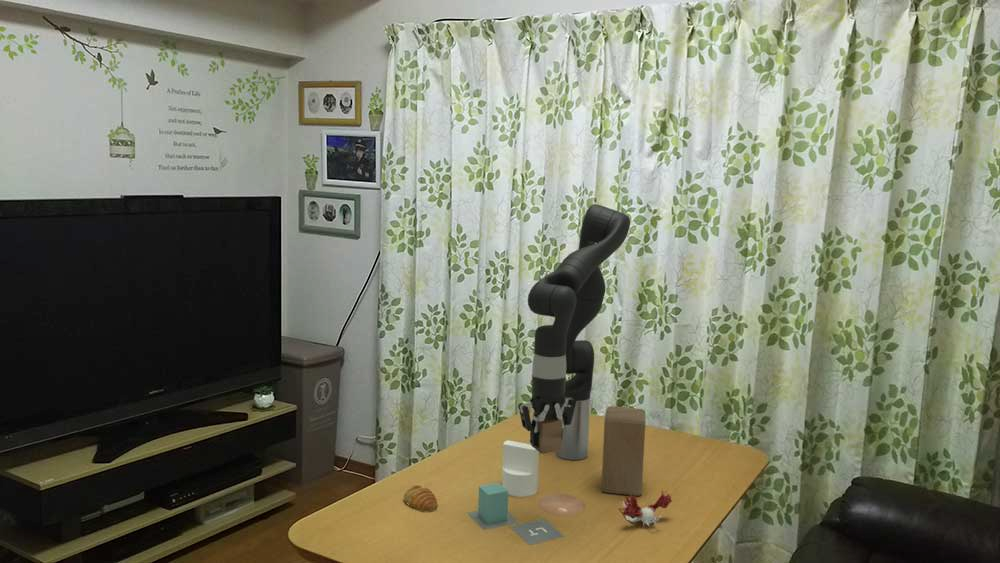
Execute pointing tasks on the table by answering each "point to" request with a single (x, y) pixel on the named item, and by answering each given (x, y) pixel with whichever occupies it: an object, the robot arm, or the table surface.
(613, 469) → the block
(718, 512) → the table surface
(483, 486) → the teal block
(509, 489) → the cylinder with rectangular tab
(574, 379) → the robot arm
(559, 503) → the pink round disc
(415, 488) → the pastry
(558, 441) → the walnut block
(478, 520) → the code tile
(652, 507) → the figurine
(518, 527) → the code tile
